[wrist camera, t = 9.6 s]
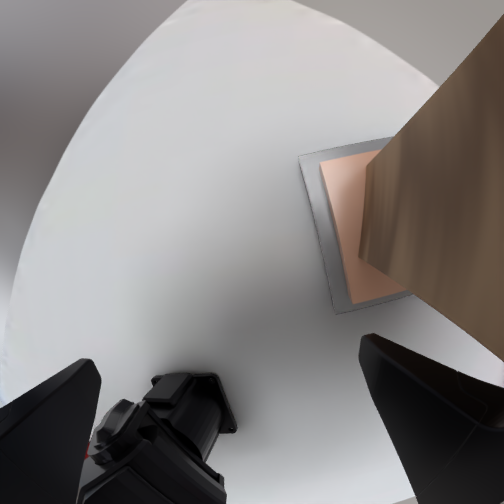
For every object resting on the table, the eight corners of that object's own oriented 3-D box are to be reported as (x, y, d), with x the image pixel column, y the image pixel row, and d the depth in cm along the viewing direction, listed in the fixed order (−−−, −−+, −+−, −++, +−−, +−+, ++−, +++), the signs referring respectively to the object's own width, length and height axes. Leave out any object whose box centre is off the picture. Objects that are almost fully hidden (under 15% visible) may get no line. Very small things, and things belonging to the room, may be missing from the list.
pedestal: (456, 271, 16) (481, 281, 13) (333, 306, 18) (338, 324, 15) (428, 136, 16) (448, 123, 12) (299, 162, 18) (297, 149, 14)
